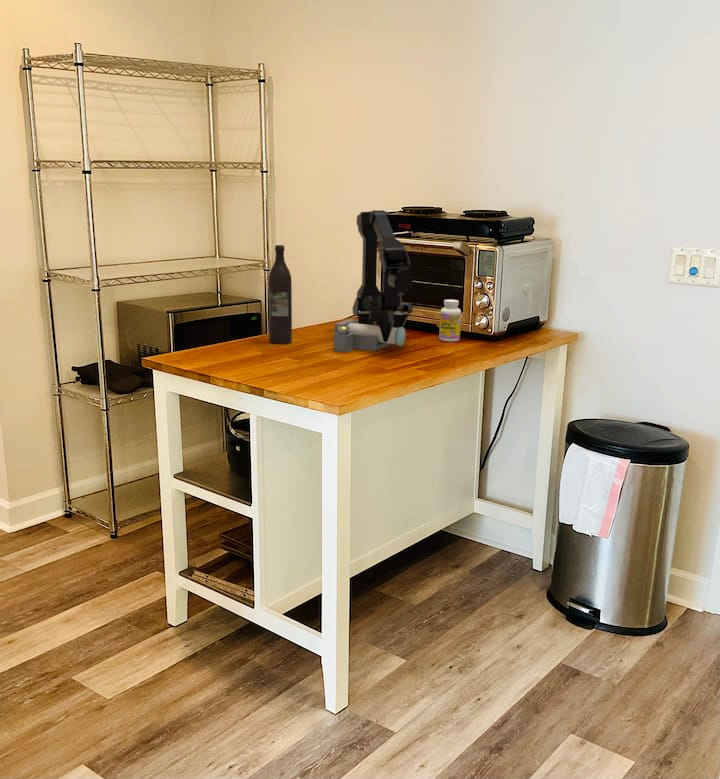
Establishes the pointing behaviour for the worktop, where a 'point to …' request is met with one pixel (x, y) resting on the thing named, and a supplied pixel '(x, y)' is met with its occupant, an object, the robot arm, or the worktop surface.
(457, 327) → the supplement bottle
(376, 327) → the cylinder
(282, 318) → the wine bottle
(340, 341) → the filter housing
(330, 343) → the worktop surface
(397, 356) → the worktop surface
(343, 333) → the release plunger
